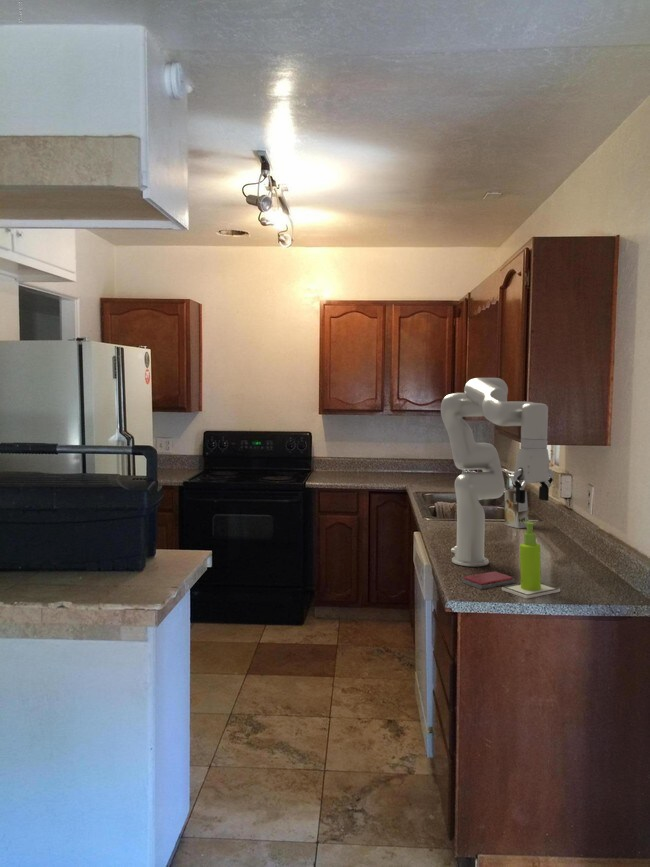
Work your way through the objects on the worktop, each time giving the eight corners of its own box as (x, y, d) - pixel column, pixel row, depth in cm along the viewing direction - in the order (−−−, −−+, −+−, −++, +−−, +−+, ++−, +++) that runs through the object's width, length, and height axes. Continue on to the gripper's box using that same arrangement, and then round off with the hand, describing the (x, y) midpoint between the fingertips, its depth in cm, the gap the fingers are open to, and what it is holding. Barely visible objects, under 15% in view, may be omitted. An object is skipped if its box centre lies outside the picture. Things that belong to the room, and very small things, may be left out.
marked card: (501, 589, 213) (501, 586, 213) (534, 583, 220) (534, 580, 220) (526, 598, 204) (526, 595, 204) (560, 591, 211) (560, 588, 211)
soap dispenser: (536, 583, 216) (535, 519, 215) (543, 590, 209) (542, 523, 208) (517, 584, 216) (516, 520, 215) (523, 590, 209) (522, 524, 208)
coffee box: (529, 527, 307) (529, 490, 306) (518, 528, 304) (518, 492, 303) (514, 523, 315) (515, 488, 314) (503, 525, 312) (504, 489, 311)
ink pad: (461, 582, 221) (461, 576, 221) (494, 576, 228) (494, 570, 228) (481, 589, 213) (481, 583, 213) (515, 583, 220) (515, 577, 220)
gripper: (544, 442, 217) (543, 497, 218) (503, 444, 208) (501, 501, 209) (564, 444, 210) (562, 501, 212) (521, 447, 202) (520, 505, 203)
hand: (532, 501), depth 210 cm, fingers open, 9 cm apart
